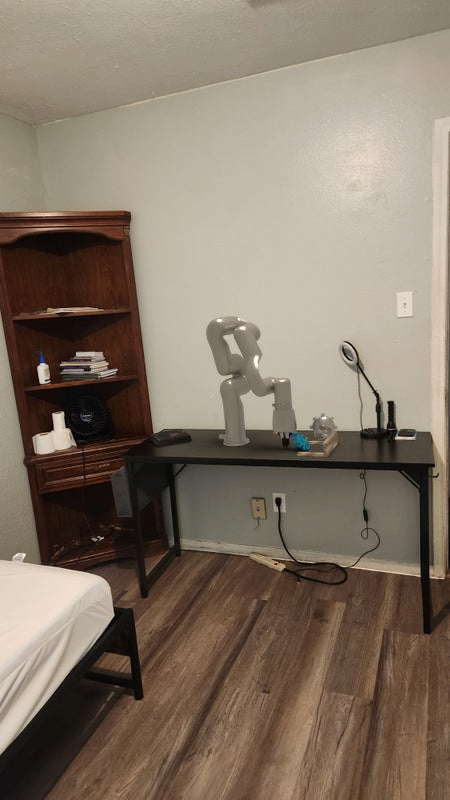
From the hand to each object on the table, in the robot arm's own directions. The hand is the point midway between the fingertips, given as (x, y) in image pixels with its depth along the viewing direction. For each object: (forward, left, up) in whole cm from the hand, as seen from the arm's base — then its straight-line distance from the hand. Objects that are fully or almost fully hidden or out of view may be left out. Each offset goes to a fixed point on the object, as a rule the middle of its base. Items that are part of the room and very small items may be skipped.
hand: (286, 446), depth 231 cm
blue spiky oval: (+7, 0, -1) cm, 7 cm away
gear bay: (+14, 0, -1) cm, 14 cm away
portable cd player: (-63, +6, -2) cm, 63 cm away
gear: (+14, +12, -1) cm, 19 cm away
